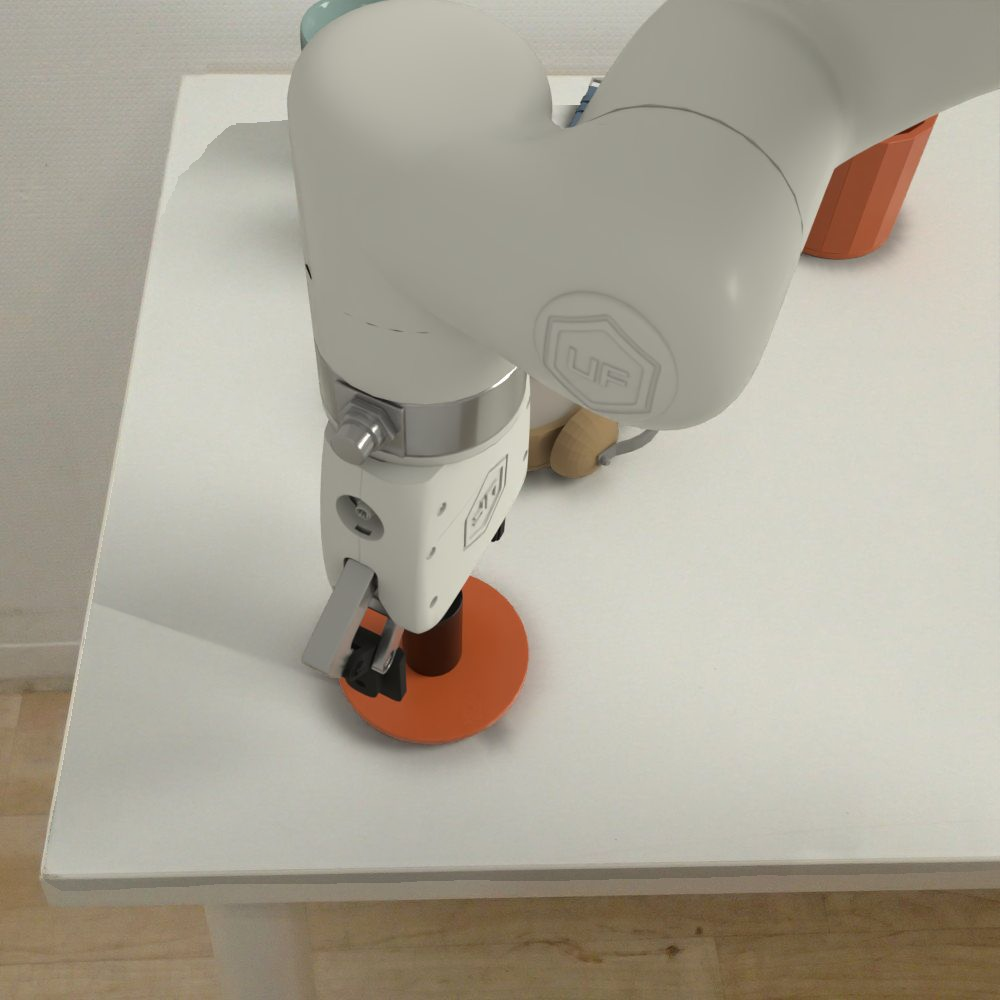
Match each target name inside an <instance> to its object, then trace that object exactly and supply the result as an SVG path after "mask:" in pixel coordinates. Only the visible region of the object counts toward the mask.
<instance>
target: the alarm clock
mask: <svg viewBox="0 0 1000 1000" xmlns="http://www.w3.org/2000/svg"><path fill="white" fill-rule="evenodd" d="M529 379H530V429H529V449H528V465H527V472H533V471H539V470H542V469H545V468H547V467H550V468H551V469H552V470H553V471H554V472H555V473H556V474H558V475H560V476H563V477H565V478H571V479H581V478H584V477H587V476H590V475H592V474H594V473H595V472H597V471H598V470H599V469H600V468H602V467H603V466H604V467H608V466H609V465H611V459H613V458H615V457H616V456H620V455H624V454H628V453H631V452H634V451H637V450H639V449H641V448H643V447H644V446H646V445H647V444H649V443H650V442H652V440H653V439H654V438H655V437H656V435H657V434H658V433H659V431H655V430H647V429H644V430H643V432H641V433H640V434H638V435H635V436H633V437H631V438H629V439H625V440H621V441H618V439H619V425H618V422H616V421H613V420H610V419H608V418H605V417H603V416H600V415H597V414H595V413H593V412H591V411H589V410H587V409H586V408H584V407H582V406H580V405H578V404H576V403H574V402H572V401H570V400H568V399H567V398H565V397H563V396H562V395H560V394H558V393H557V392H555V391H553V390H552V389H550V388H548V387H547V386H545V385H544V384H542V383H540V382H539V381H537V380H536V379H534V378H533V377H531V376H530V375H529Z"/></svg>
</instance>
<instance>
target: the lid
mask: <svg viewBox="0 0 1000 1000" xmlns="http://www.w3.org/2000/svg"><path fill="white" fill-rule="evenodd" d="M387 618H388V617H386V616H384V615H382V614H380V613H378V612H376V611H373V610H371V609H369V608H368V609H367V611H366V613H365V615H364V617H363V619H362V621H361V623H360V626H362V627H364V628H366V629H368V630H370V631H372V632H374V633H376V634H379V635H381V634H382V631H383V628H384V625H385V623H386V620H387ZM398 647H400V648H402V649H403V650H404V651H405V660H406V685H407V692H406V694H405V695H404V697H403V698H402V700H401V701H400V702H398V701H395V700H392V699H390V698H388V697H386V696H384V695H382V694H380V693H378V695H377V697H375V698H372V697H368V696H366V695H364V694H362V693H360V692H358V691H356V690H354V689H353V688H352V687H350V686H349V685H348V684H347V682H346V680H345V678H342V677H341V678H337V679H338V682H339V686H340V688H341V691H342V693H343V695H344V697H345V698H346V700H347V702H348V704H349V705H350V706H351V708H352V709H353V710H354V712H355V713H356V714H357V715H358V716H359V717H360V718H361V719H362V720H363V721H364V722H366V723H367V724H369V725H370V726H371V727H372V728H373V729H376V730H377V731H379V732H381V733H382V734H384V735H386V736H389V737H391V738H393V739H396V740H399V741H403V742H407V743H410V744H411V743H412V744H419V745H443V744H450V743H455V742H459V741H463V740H465V739H468V738H471V737H474V736H475V735H478V734H480V733H482V732H483V731H485V730H487V729H488V728H489V727H491V726H492V725H494V724H496V723H497V722H498V721H499V720H500V719H501V718H502V717H504V715H506V713H507V712H508V711H510V709H511V707H512V706H513V705H514V703H515V702H516V700H517V698H519V696H520V694H521V692H522V689H523V687H524V684H525V681H526V677H527V674H528V668H529V662H530V653H529V652H530V648H529V642H528V636H527V632H526V629H525V626H524V623H523V622H522V620H521V617H520V615H519V614H518V612H517V610H515V608H514V606H513V605H512V604H511V603H510V601H509V600H508V599H507V597H505V596H504V595H502V593H501V592H500V591H498V590H497V588H496V589H495V588H494V587H493V586H492V585H490V584H489V583H487V582H485V581H483V580H481V579H479V578H477V577H475V576H472V575H470V576H469V577H468V579H467V581H466V582H465V584H464V585H463V587H462V589H461V590H460V592H459V593H458V595H457V596H456V598H455V600H454V601H453V603H452V604H451V606H450V607H449V609H448V610H447V612H446V613H445V615H444V616H443V617H442V619H441V620H440V621H439V622H438V623H437V624H436V625H435V626H434V627H432V628H431V629H430V630H428V631H425V632H423V633H420V634H417V633H414V632H411V631H409V630H406V629H404V631H403V634H402V637H401V640H400V643H399V646H398Z"/></svg>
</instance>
